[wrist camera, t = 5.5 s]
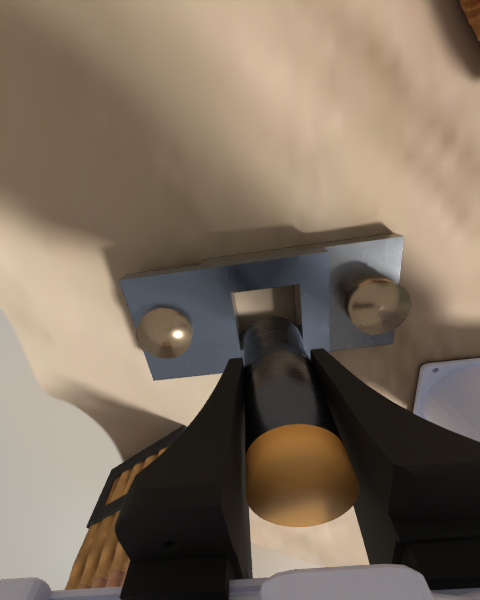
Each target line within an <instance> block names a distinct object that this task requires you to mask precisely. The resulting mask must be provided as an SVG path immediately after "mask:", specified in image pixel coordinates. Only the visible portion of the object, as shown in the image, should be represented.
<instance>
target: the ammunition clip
mask: <svg viewBox="0 0 480 600" xmlns="http://www.w3.org/2000/svg"><path fill="white" fill-rule="evenodd" d="M186 428H187V427H186V426H182V427H180V428H179V429H177V430H175V431H174V432H172V433H171V434H169V435H167V436H166V437H164V438H162V439H161V440H159V441H158V442H156V443H154V444H153V445H151V446H149V447H148V448H146V449H145V450H143V451H141V452H140V453H138V454H136V455H135V456H133V457H132V458H130V459H128V460H127V461H125V462H123V463H122V464H120V465H118V466H117V467H115V468H114V469H112V470H111V472H110V475H109V477H108V479H107V481H106V484H105V486H104V488H103V490H102V493H101V495H100V497H99V499H98V502H97V504H96V506H95V508H94V511H93V513H92V515H91V517H90V520H89V522H88V524H87V528H89V530H88V533H87V535H86V537H85V539H84V542H83V544H82V546H81V548H80V551H79V553H78V555H77V558H76V560H75V562H74V565H73V567H72V571H71V574H70V578H69V581H68V583H67V586H66V588H65V590H74V589H90V588H107V587H123V583H124V580H125V577H126V573H127V570H128V567H129V563H130V559H129V557H128V556H127V554H126V553H125V551H124V549H123V548H122V546H121V544H120V543H119V541H118V539H117V537H116V534H115V531H114V530H115V523H116V521H117V518H118V515H119V513H120V510H121V507H122V504H123V502H124V499H125V496H126V494H127V492H128V490H129V488H130V486H131V484H132V482H133V479H134V477H135V475H137V474H138V473H139V472H140V471H142V470H143V469H144V468H145V467H147V466H148V465H149V464H150V463H151V462H153V461H154V460H155V459H156V458H157V457H158V456H160V455H161V454H162V453H163V452H164V451H165V450H166V449H167V448H168V447H169V446H170V445H171V444H172V443H173V442H174V441H175V440H176V439H177V438H178V437H179V436H180V435H181V434H182V433H183V432H184V431H185V429H186Z"/></svg>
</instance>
